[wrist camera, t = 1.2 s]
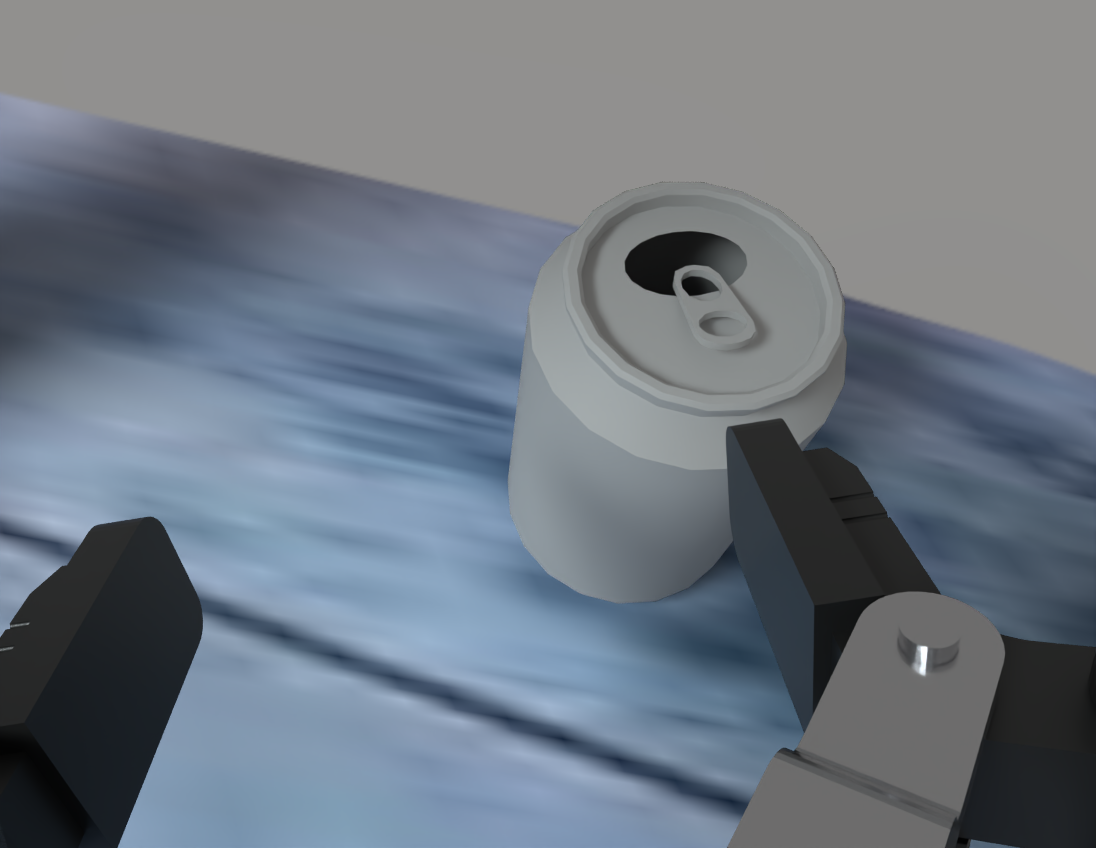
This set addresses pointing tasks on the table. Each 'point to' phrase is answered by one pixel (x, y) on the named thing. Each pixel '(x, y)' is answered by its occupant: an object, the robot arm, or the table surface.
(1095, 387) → the table surface
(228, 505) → the table surface
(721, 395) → the can
